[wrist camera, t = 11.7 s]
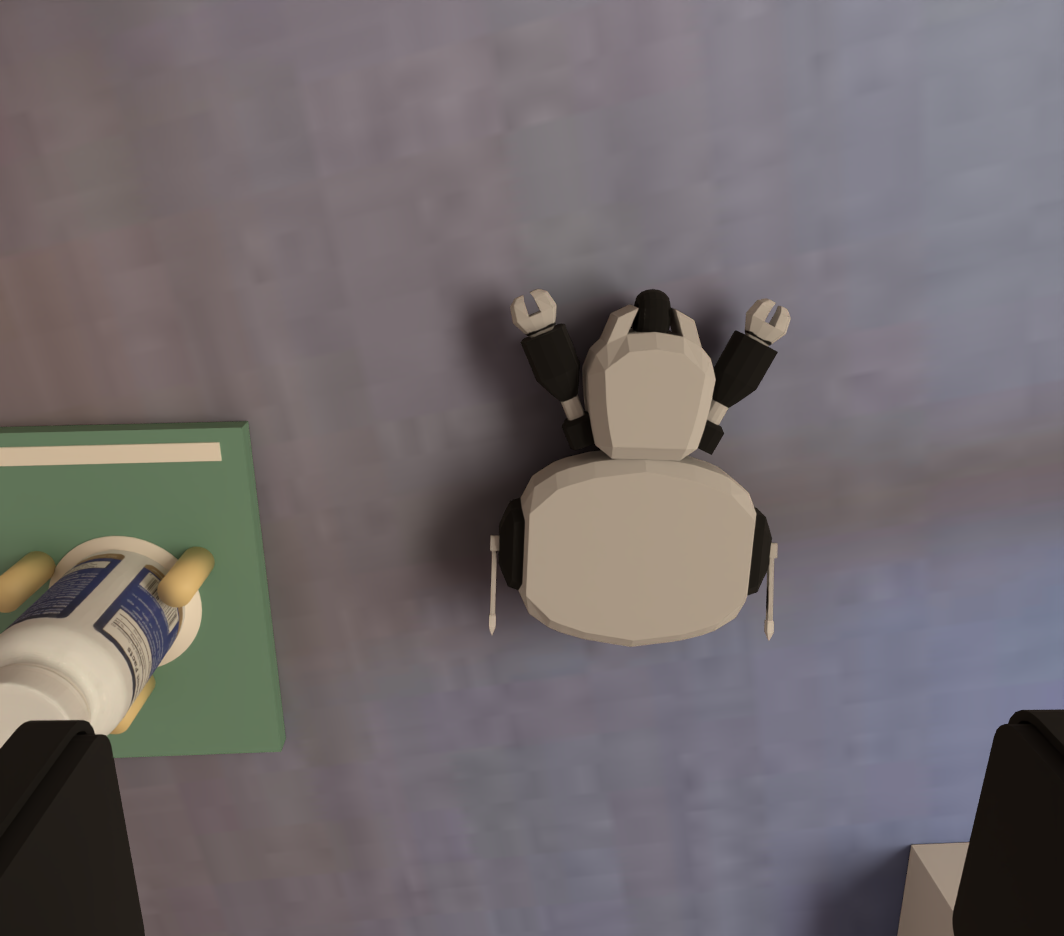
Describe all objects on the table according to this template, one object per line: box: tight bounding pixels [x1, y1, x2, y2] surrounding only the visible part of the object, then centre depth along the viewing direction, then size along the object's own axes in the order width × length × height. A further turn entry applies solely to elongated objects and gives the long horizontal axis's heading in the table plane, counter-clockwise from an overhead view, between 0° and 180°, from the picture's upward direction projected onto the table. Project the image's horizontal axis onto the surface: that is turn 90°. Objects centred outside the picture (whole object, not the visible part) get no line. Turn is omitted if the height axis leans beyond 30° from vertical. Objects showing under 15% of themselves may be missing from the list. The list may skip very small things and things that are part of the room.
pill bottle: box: [0, 550, 185, 748], centre depth 34 cm, size 5×5×10 cm
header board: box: [0, 421, 286, 758], centre depth 38 cm, size 16×12×4 cm
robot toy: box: [489, 289, 791, 647], centre depth 37 cm, size 12×4×15 cm
